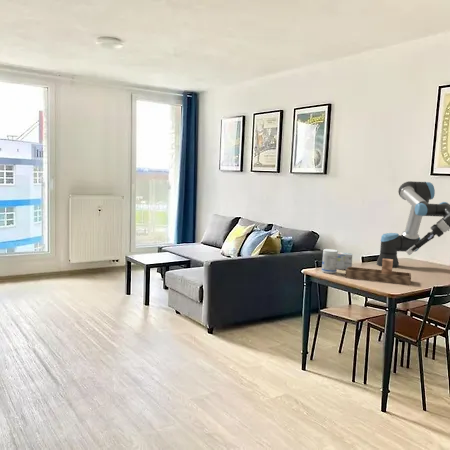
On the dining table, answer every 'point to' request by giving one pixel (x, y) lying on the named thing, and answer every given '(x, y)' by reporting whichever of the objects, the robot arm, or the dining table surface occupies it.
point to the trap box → (378, 275)
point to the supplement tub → (329, 261)
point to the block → (387, 266)
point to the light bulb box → (344, 260)
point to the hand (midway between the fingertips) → (407, 253)
